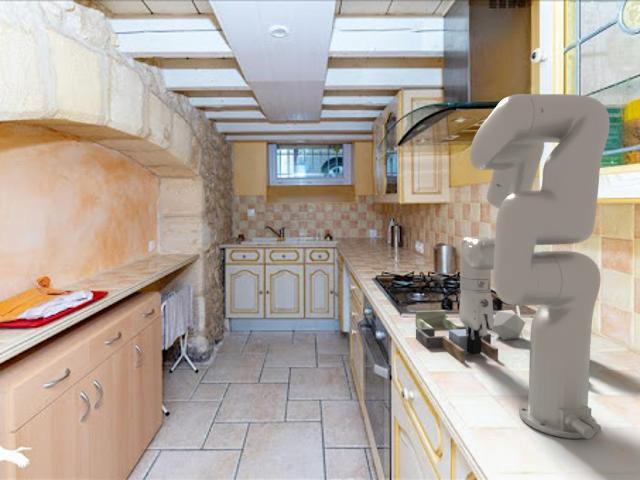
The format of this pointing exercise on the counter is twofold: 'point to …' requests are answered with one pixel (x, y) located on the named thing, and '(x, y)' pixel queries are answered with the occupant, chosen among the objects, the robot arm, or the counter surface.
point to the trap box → (431, 341)
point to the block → (459, 338)
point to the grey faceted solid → (508, 324)
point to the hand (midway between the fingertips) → (473, 352)
